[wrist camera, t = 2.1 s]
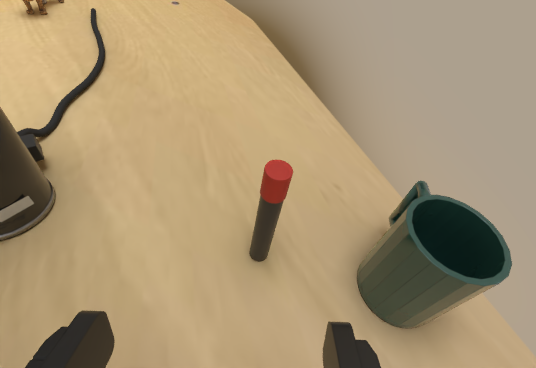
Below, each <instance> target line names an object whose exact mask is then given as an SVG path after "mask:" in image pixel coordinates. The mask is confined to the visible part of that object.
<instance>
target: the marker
mask: <svg viewBox="0 0 536 368" xmlns="http://www.w3.org/2000/svg"><path fill="white" fill-rule="evenodd" d="M292 174H293V169H292V167H291V166H290V165H289V164H288V163H287V162H285V161H282V160H272V161H269V162H268V163H267V164H266V165H265V168H264V174H263V179H262V184H261V190H260V194H261V196H260V201H259V206H258V211H257V217H256V222H255V227H254V232H253V237H252V242H251V248H250V256H251V257H252V259H254V260H256V261H263V260H265V259H266V257H267V255H268V252H269V248H270V245H271V242H272V238H273V235H274V231H275V228H276V225H277V221H278V218H279V214H280V211H281V208H282V204H283V201H284V199H285V198H286V195H287V191H288V188H289V185H290V181H291V178H292Z"/></svg>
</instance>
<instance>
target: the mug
mask: <svg viewBox="0 0 536 368" xmlns="http://www.w3.org/2000/svg"><path fill="white" fill-rule="evenodd" d="M389 223H390V229H389V230H388V231H387V232H386V233H385V235H384V236H383V237H382V238H381V239H380V241H379V242H378V243H377V244H376V245H375V246H374V248H373V249H372V250H371V251H370V252H369V254H368V255H367V256H366V257H365V259H364V260H363V261H362V263H361V264H360V266H359V269H358V274H357V281H358V287H359V290H360V293H361V295H362V297H363V299H364V301H365V302H366V304H367V305H368V307H369V308H370V309H371V310H372V311H373V312H374V313H375V314H376V315H377V316H378V317H379V318H381V319H382V320H384V321H385V322H387V323H389V324H391V325H394V326H396V327H401V328H415V327H418V326H421V325H423V324H425V323H427V322H429V321H431V320H433V319H435V318H437V317H438V316H440V315H442V314H444V313H446V312H448V311H449V310H451V309H453V308H455V307H457V306H459V305H461V304H462V303H464V302H466V301H468V300H470V299H472V298H473V297H475V296H477V295H479V294H481V293H483V292H485V291H486V290H488V289H490V288H492V287H494V286H496V285H498V284H499V283H501V282H502V281H503V280H504V279H505V278H506V277H508V276H509V273H510V269H511V266H512V261H511V256H510V251H509V248H508V246H507V244H506V242H505V240H504V238H503V237H502V235H501V234H500V233H499V231H498V230H497V229H496V228H495V226H494V225H493V224H492V223H491V222H490V221H489V220H488V219H486V218H485V217H484V216H483V215H482V214H480V213H479V212H478V211H476V210H475V209H473V208H471V207H470V206H468V205H466V204H465V203H463V202H460V201H458V200H455V199H452V198H450V197H446V196H440V195H431V194H430V191H429V188H428V185H427V183H425V182H424V181H418V182H417V183H416V184H415V185H414V186H413V188H412V189H411V190H410V191H409V193H408V194H407V195H406V197H405V198H404V199H403V200H402V202H401V203H400V204H399V205H398V207H397V208H396V209H395V210H394V212H393V213H392V214H391V215H390V217H389Z"/></svg>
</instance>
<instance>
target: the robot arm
mask: <svg viewBox="0 0 536 368" xmlns="http://www.w3.org/2000/svg"><path fill="white" fill-rule="evenodd" d="M91 25H92V28H93V31H94V33H95V36H96V39H97V43H98V48H99V56H98V60H97V63H96V65H95V67H94V69H93V70H92V72H91V73H90V74H89V76H88V77H87V78H86V79H85V80H84V81H83V82H82V83H81V84H80V85H78V86H77V87H76V88H75V89H73V90H72V91H71V92H70V93H69V94H67V95H66V96H65V97H64V98H63V99H62V100H61V102H60V103H59V104H58V106H57V108H56V110H55V112H54V114H53V116H52V118H51V120H50V122H49V123H48V124H47V125H46V126H45V127H44V128H42V129H39V130H38V129H31V128H26V129H23V130H21V131H19V132H16V130H15V129H14V127H13V126H12V124H11V123H10V121H9V120H8V118H7V116H6V115H5V113H4V112H3V110H2V109H1V107H0V240H3V239H7V238H10V237H13V236H16V235H18V234H20V233H22V232H24V231H26V230H28V229H30V228H31V227H33V226H34V225H36V224H37V223H38V222H39V221H41V220H42V219H43V218H44V217H45V216H46V215H47V213H48V212H49V211H50V209H51V208H52V206H53V203H54V200H55V191H54V188H53V186H52V185H51V183H50V182H49V181H48V180H47V179H46V177H45V176H44V174H43V173H42V171H41V170H40V168H39V166H38V165H37V163H36V161H40V160H44V156H43V152H42V148H41V146H40V144H39V142H38V141H37V139H36V137H43V136H45V135H47V134H49V133H50V132H52V131H53V130H54V129H55V128H56V127H57V125H58V123H59V121H60V119H61V117H62V114H63V112H64V110H65V108H66V107H67V105H68V104H69V103H70V102H71V101H72V100H73V99H74V98H75V97H76V96H77V95H79V94H80V93H81V92H82V91H83V90H85V89H86V88H87V87H88V86H89V85H90V84H91V83H92V82H93V80H94V79H95V78H96V76H97V75H98V73H99V72H100V70H101V68H102V65H103V62H104V56H105V49H104V45H103V41H102V37H101V35H100V32H99V30H98V28H97V24H96V10H95V9H94V8H92V9H91ZM113 348H114V336H113V332H112V329H111V326H110V323H109V320H108V317H107V314H106V312H104V311H81V312H79V313H78V314H77V315H76V317H75V318H74V319H73V321H72V322H71V324H70V325H69V326H68V327H61V328H60V329H59V330H57V331H56V332H55V333H54V334H53V335H51V336H50V337H49V338H48V339H47V340H45V342H44V343H43V344H42V346H41V347H40V348H39V350H38V351H37V352H36V354H35V355H34V356H33V359H32V360H30V362H29V363H28V364H27V366H26V367H25V368H105V367H106V365H107V363H108V361H109V359H110V357H111V355H112V352H113ZM323 366H324V368H381V366H380V363H379V360H378V357H377V355H376V353H375V352H374V351H373V349H372V348H371V346H370V345H369V344H368V342H367V341H366V340H355V337H354V333H353V329H352V326H351V324H350V323H348V322H328V325H327V331H326V336H325V341H324V346H323Z"/></svg>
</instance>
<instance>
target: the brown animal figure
mask: <svg viewBox="0 0 536 368" xmlns="http://www.w3.org/2000/svg"><path fill="white" fill-rule="evenodd" d="M29 1H33V0H23V2H24V3H25V5H26V6H27V8H28V10H27V13H28V14H32V13H33V9H32V6H31V5H30V2H29ZM58 1H59V2H64V0H58ZM36 2H37V3H38V6H39V10H40V13H41V14H43V15H45V14H47V12H46V10H45V8H44V6H43V4H45V3H46V0H36Z"/></svg>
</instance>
